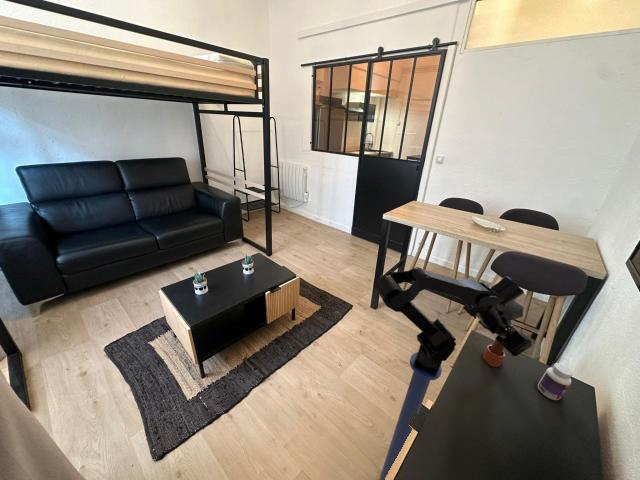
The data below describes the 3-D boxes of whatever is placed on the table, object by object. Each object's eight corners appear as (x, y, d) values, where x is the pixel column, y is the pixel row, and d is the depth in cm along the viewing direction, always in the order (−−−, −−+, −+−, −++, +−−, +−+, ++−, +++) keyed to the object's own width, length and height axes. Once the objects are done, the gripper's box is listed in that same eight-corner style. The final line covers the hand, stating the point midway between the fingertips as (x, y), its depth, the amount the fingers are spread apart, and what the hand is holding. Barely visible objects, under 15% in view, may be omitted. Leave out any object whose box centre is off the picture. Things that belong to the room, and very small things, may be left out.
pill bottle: (561, 404, 71) (577, 381, 67) (537, 393, 74) (552, 369, 70) (559, 391, 75) (574, 367, 71) (536, 380, 78) (550, 357, 74)
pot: (482, 362, 83) (487, 352, 81) (482, 352, 87) (487, 342, 85) (500, 369, 81) (505, 359, 79) (499, 358, 85) (504, 349, 83)
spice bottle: (495, 357, 81) (510, 327, 76) (487, 351, 83) (501, 320, 78) (501, 356, 82) (517, 325, 77) (494, 349, 84) (508, 319, 79)
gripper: (542, 317, 64) (557, 347, 70) (487, 277, 81) (503, 304, 87) (504, 342, 66) (522, 369, 72) (458, 298, 83) (476, 323, 89)
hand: (505, 338), depth 80 cm, fingers closed on spice bottle, 3 cm apart
